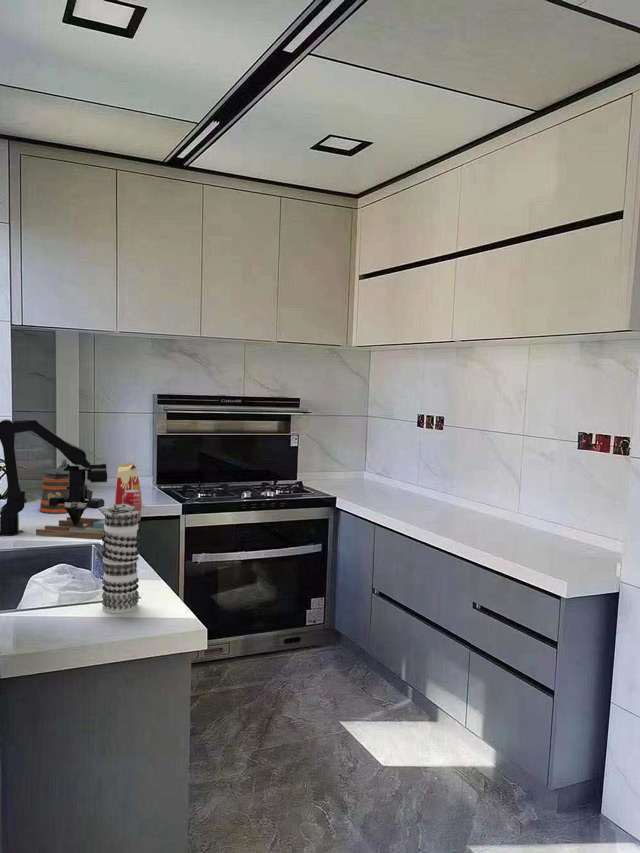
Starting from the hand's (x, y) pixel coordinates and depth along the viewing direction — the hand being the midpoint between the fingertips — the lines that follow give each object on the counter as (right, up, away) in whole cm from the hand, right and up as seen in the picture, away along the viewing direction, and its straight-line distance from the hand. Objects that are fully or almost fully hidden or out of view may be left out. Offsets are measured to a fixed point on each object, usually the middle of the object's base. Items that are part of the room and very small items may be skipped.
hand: (76, 525), depth 248 cm
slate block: (+11, -2, -1) cm, 11 cm away
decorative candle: (+39, -8, -81) cm, 90 cm away
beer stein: (-20, +1, +37) cm, 42 cm away
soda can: (+15, -1, +17) cm, 23 cm away
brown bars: (+4, -2, 0) cm, 5 cm away
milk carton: (+6, +1, +44) cm, 44 cm away
